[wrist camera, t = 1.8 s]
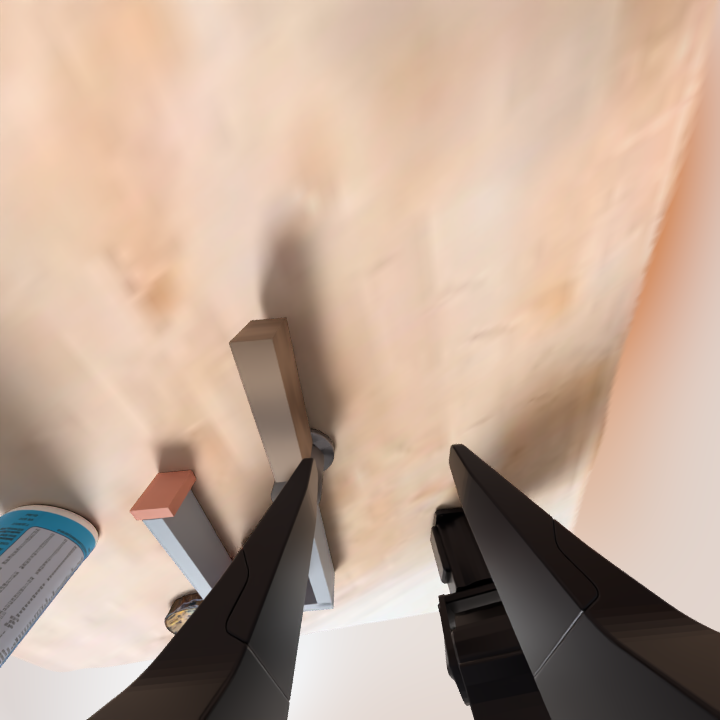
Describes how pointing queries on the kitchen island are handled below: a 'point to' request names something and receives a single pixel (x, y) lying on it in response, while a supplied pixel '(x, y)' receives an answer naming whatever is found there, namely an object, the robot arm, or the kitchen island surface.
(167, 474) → the block
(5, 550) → the beverage bottle
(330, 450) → the pivot post
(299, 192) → the kitchen island surface
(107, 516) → the kitchen island surface
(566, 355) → the kitchen island surface
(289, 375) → the bar
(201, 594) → the dock
